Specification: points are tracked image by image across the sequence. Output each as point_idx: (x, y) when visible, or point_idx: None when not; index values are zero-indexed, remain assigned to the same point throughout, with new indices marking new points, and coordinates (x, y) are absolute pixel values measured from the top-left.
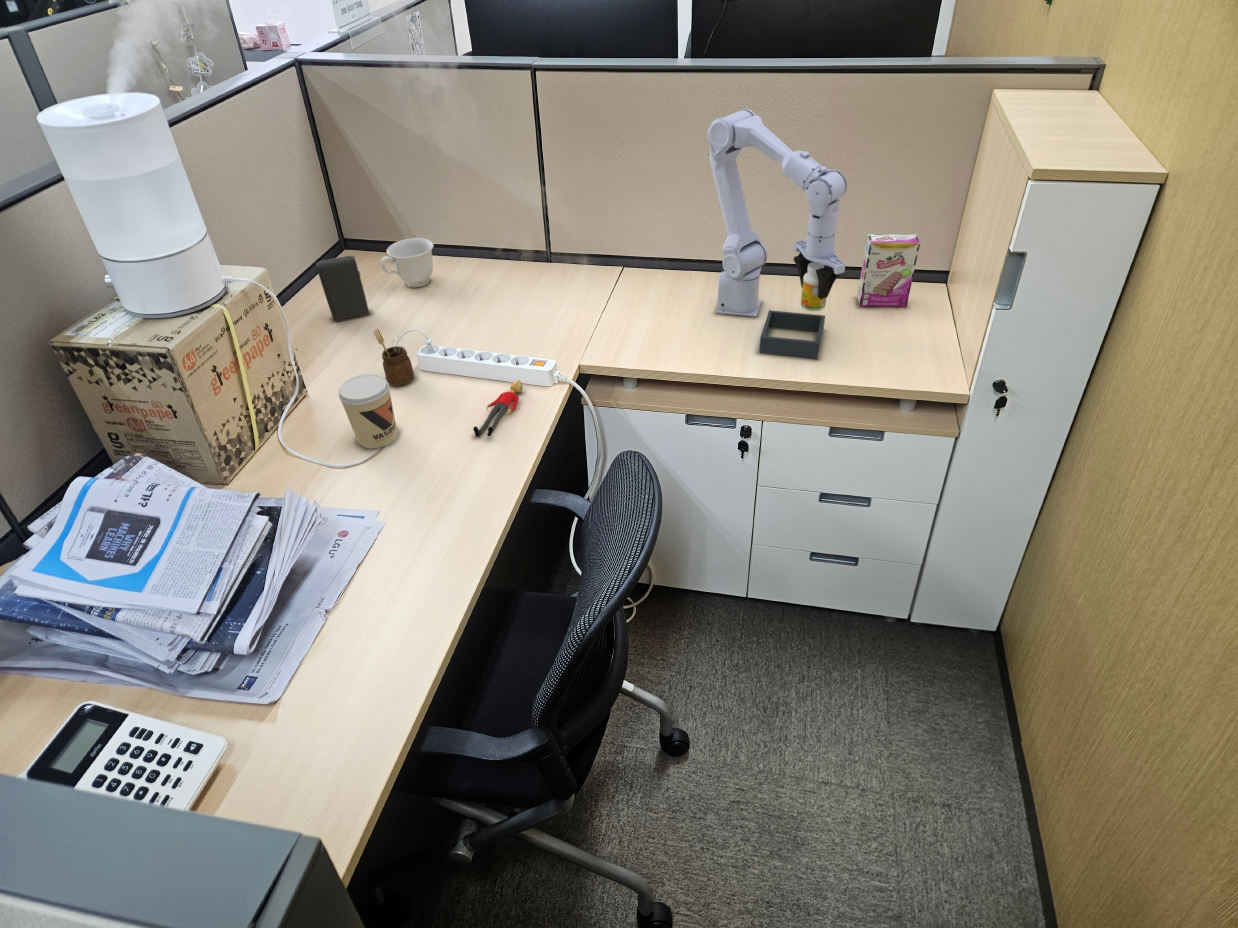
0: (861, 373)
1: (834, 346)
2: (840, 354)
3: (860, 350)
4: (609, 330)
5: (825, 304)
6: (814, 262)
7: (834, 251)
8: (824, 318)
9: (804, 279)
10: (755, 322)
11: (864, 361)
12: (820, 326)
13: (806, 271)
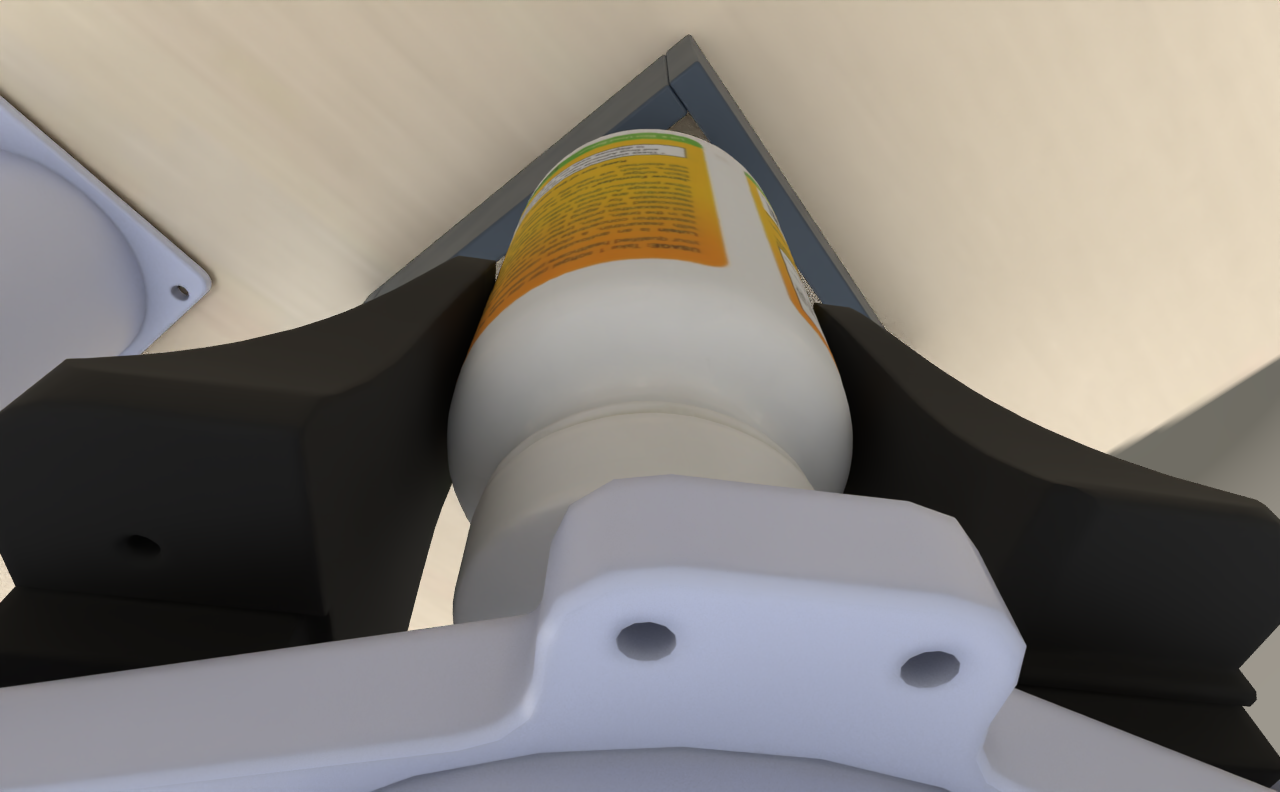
0: (1233, 284)
1: (902, 152)
2: (998, 206)
3: (1107, 39)
4: None
5: (768, 201)
6: (497, 596)
7: (984, 697)
8: (733, 115)
9: None
10: (282, 323)
11: (1199, 150)
12: (801, 255)
13: (425, 486)
